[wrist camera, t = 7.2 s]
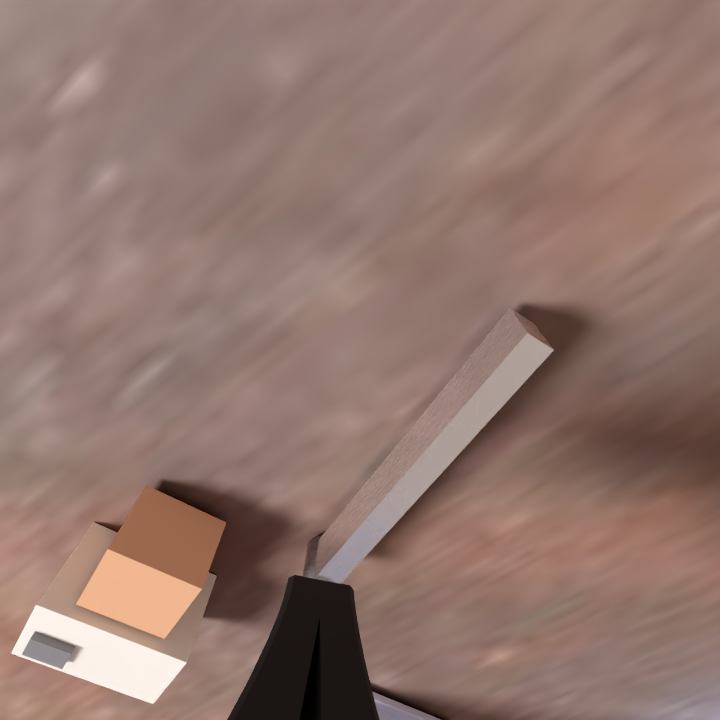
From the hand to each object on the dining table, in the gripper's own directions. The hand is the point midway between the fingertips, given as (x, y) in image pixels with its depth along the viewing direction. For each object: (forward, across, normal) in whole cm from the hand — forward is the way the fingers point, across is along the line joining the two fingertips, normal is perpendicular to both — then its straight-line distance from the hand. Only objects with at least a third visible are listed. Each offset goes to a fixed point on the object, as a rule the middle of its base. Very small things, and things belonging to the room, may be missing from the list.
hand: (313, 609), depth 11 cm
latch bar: (+8, -3, +1) cm, 9 cm away
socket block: (+8, +7, +11) cm, 16 cm away
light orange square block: (+8, +6, +8) cm, 13 cm away
